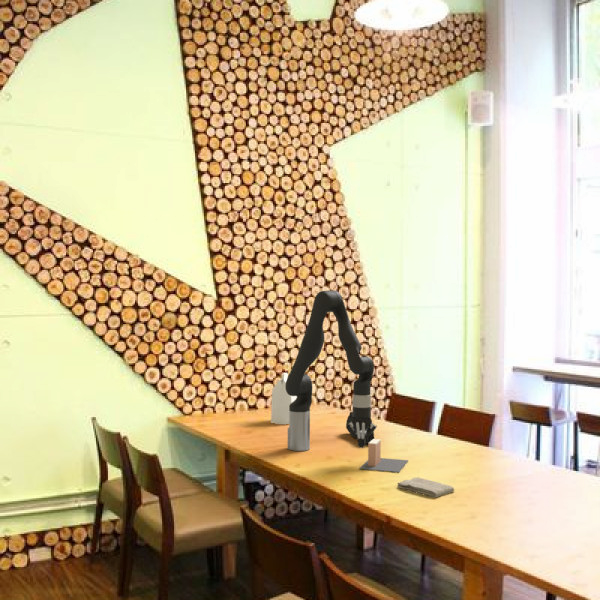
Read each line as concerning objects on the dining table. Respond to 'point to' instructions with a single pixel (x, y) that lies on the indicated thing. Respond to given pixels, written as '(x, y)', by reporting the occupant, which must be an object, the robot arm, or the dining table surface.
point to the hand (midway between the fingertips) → (361, 447)
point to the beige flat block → (374, 452)
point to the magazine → (356, 429)
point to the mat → (386, 465)
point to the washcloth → (425, 487)
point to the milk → (281, 402)
